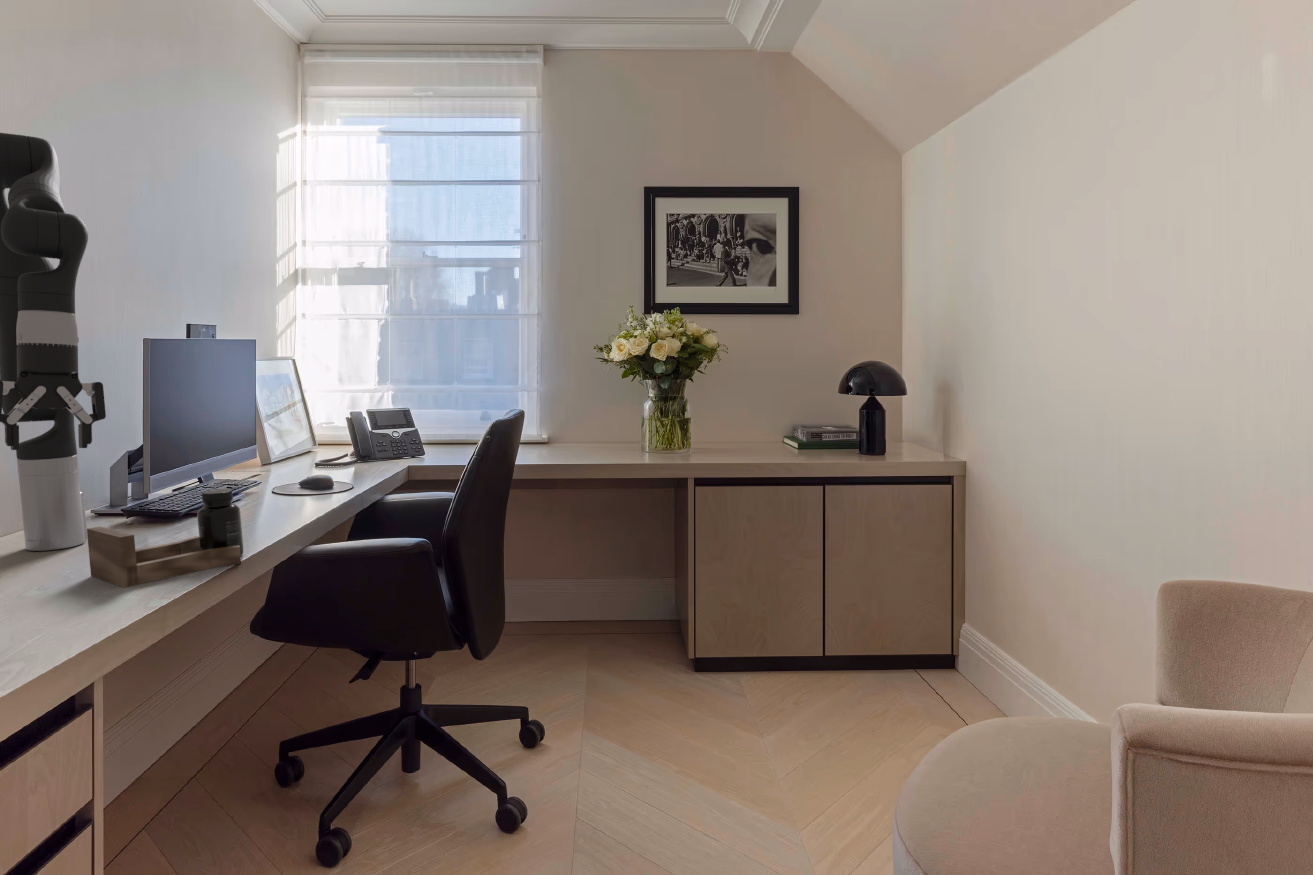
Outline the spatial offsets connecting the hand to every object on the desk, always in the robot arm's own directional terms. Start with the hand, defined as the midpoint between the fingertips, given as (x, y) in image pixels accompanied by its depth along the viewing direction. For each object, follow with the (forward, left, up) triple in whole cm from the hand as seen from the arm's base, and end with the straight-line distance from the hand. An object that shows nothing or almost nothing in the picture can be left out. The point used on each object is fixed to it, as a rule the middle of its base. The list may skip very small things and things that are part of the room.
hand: (49, 448), depth 126 cm
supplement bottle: (-19, +15, -22) cm, 33 cm away
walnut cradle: (-11, +10, -22) cm, 27 cm away
